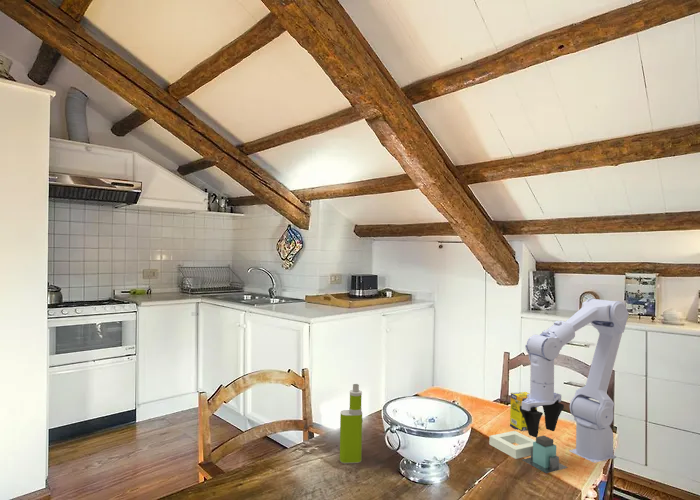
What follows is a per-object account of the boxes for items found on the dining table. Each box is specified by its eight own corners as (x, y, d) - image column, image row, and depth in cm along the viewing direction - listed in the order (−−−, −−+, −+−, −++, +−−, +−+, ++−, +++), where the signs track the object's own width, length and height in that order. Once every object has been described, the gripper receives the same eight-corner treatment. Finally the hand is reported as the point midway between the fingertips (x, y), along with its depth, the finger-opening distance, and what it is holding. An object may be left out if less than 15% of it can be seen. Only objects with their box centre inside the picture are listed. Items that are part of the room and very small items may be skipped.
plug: (543, 458, 118) (543, 434, 118) (556, 465, 114) (556, 440, 114) (532, 461, 116) (533, 436, 116) (545, 468, 112) (545, 442, 113)
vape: (362, 462, 115) (364, 386, 115) (340, 463, 114) (342, 387, 114) (360, 456, 118) (362, 382, 119) (338, 457, 118) (340, 383, 118)
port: (514, 440, 131) (514, 430, 131) (542, 454, 122) (542, 443, 122) (489, 446, 127) (489, 435, 127) (515, 461, 118) (516, 449, 118)
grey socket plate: (542, 456, 120) (542, 443, 121) (568, 469, 113) (568, 455, 113) (521, 461, 117) (521, 448, 117) (546, 475, 110) (546, 461, 110)
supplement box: (521, 433, 137) (521, 398, 137) (509, 425, 143) (510, 392, 143) (537, 431, 138) (537, 397, 139) (525, 424, 144) (525, 391, 144)
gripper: (544, 373, 122) (544, 422, 122) (511, 381, 114) (511, 433, 114) (568, 380, 116) (568, 431, 116) (535, 388, 108) (535, 443, 108)
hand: (541, 432), depth 115 cm, fingers open, 7 cm apart
